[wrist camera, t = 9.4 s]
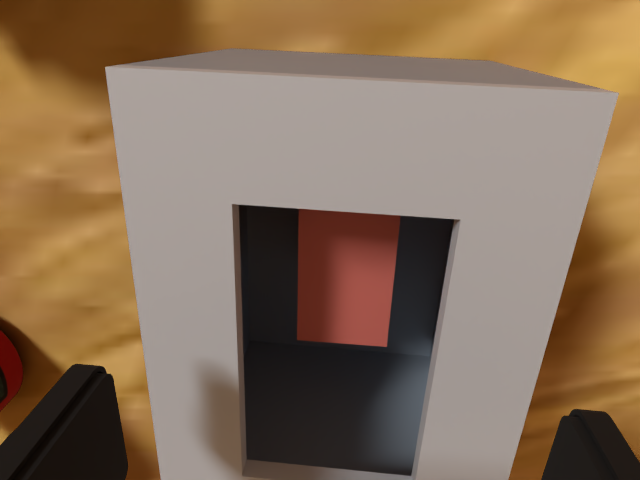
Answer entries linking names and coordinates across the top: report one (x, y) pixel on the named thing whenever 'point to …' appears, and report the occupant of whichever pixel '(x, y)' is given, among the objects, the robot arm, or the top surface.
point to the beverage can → (9, 371)
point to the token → (345, 276)
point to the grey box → (361, 197)
